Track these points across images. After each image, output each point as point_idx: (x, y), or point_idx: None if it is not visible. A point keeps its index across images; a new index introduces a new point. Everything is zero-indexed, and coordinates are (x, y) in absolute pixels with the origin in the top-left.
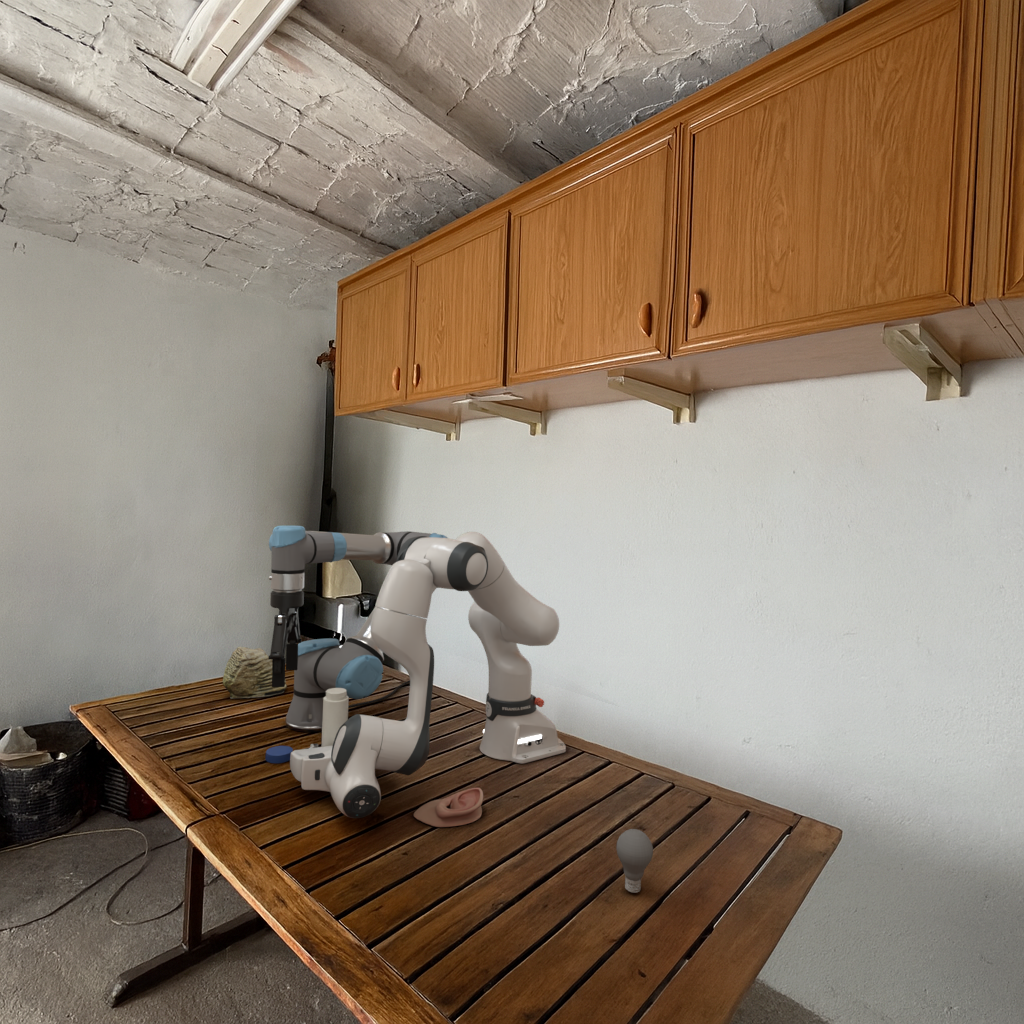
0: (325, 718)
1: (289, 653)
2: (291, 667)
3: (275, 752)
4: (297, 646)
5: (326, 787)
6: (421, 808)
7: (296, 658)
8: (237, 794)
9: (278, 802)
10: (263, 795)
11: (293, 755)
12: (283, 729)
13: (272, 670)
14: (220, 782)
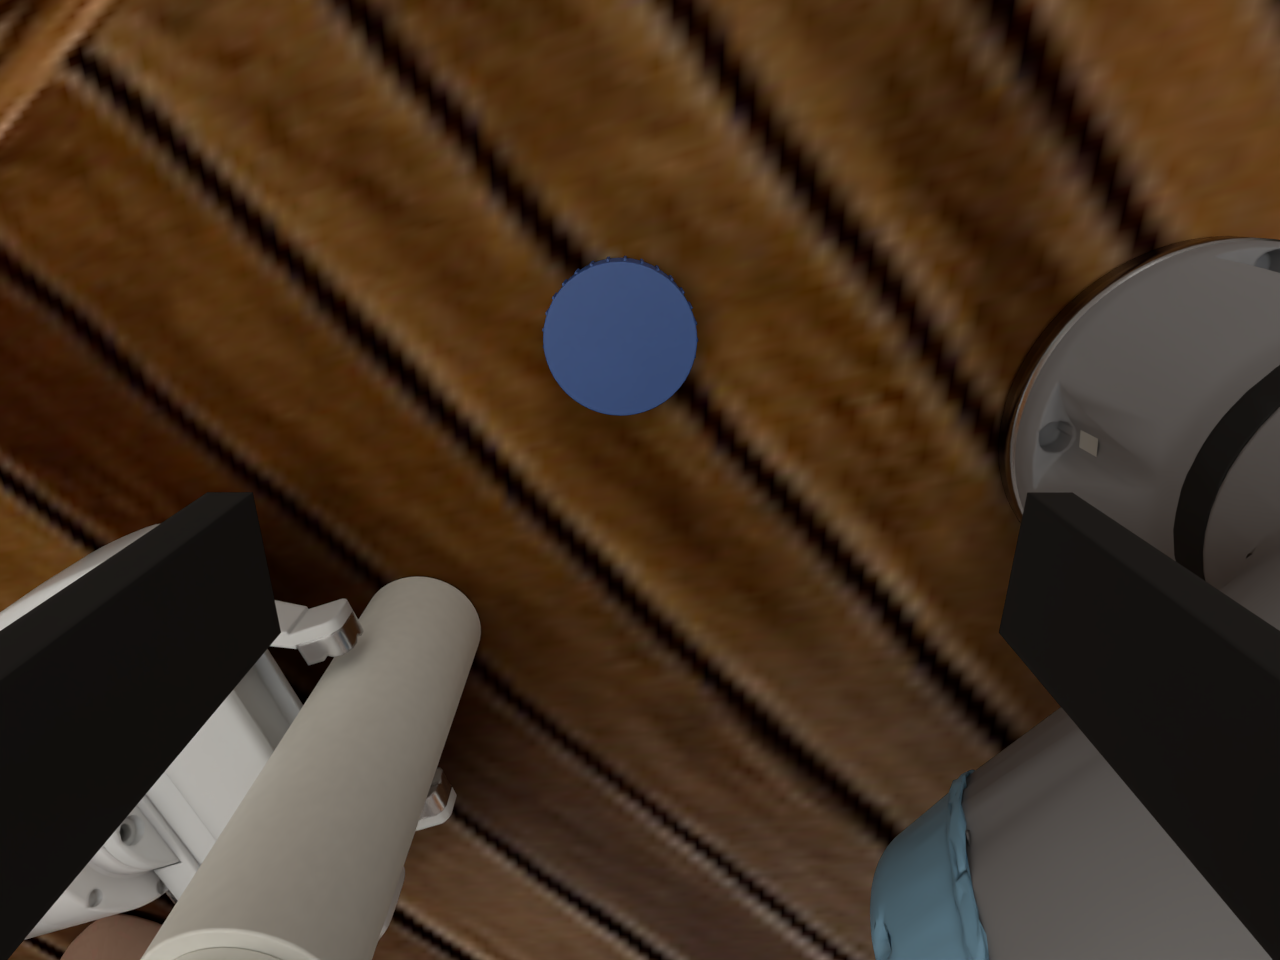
0: (227, 826)
1: (1198, 692)
2: (1035, 584)
3: (591, 324)
4: (1274, 955)
5: None
6: (126, 947)
7: (1097, 739)
8: (150, 229)
9: (115, 451)
10: (167, 365)
11: (34, 596)
12: (1093, 247)
13: (26, 618)
14: (273, 77)
